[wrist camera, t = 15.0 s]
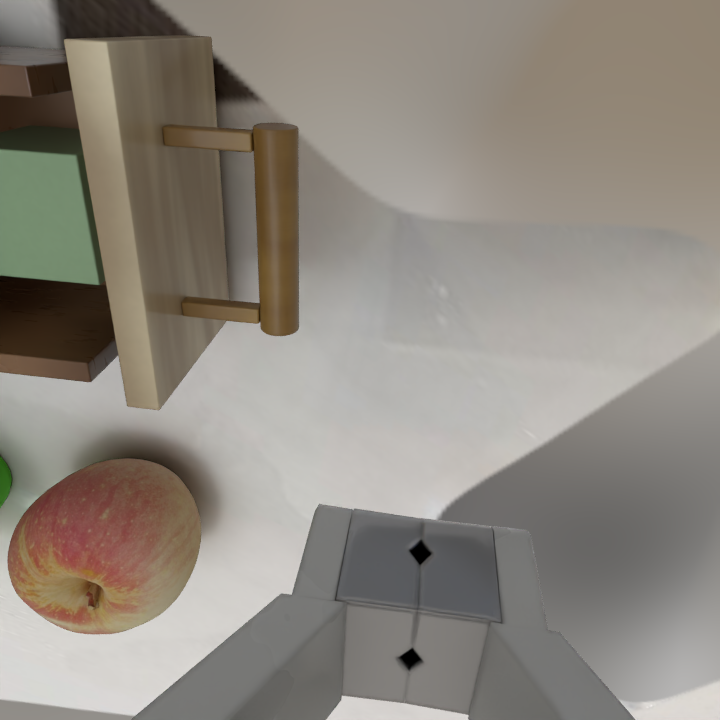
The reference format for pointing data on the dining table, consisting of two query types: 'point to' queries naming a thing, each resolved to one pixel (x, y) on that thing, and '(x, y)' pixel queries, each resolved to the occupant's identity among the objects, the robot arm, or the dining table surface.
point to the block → (47, 207)
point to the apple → (106, 547)
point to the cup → (4, 481)
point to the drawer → (146, 214)
